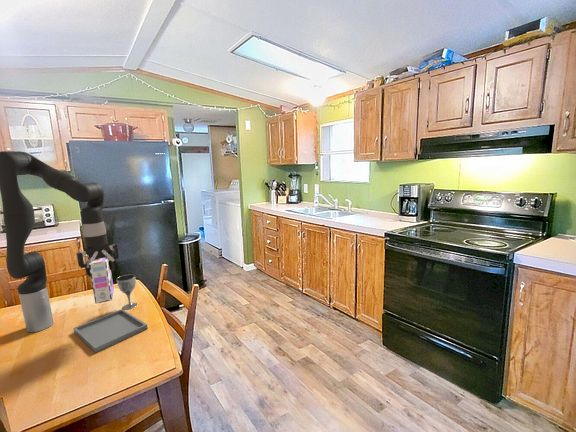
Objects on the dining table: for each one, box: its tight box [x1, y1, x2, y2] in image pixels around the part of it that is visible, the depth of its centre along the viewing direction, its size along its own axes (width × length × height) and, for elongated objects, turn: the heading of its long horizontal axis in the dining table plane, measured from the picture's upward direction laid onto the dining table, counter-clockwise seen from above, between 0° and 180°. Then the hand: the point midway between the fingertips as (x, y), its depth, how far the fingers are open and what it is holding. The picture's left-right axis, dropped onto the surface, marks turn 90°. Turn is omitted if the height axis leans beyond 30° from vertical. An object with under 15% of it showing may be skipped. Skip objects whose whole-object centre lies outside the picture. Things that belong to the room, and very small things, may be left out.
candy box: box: [89, 256, 114, 305], centre depth 120 cm, size 14×6×16 cm, turn 28°
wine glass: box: [116, 273, 138, 311], centre depth 144 cm, size 8×8×15 cm
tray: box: [72, 308, 148, 354], centre depth 124 cm, size 24×20×2 cm
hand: (101, 273), depth 120 cm, fingers closed on candy box, 7 cm apart
